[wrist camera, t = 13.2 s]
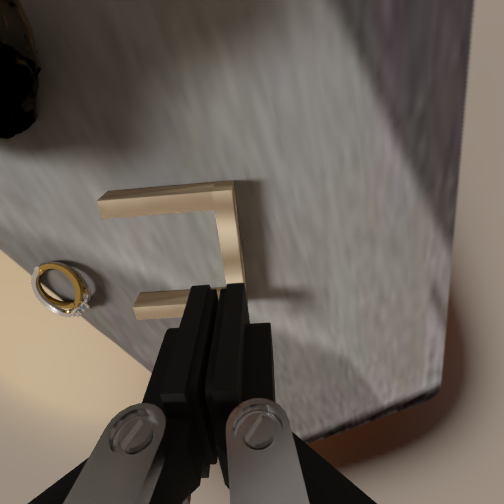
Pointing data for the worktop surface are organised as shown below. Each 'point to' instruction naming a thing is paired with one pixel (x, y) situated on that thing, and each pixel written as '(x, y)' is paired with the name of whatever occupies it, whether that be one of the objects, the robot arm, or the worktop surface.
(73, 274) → the ring
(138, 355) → the worktop surface
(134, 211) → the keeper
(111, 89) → the worktop surface
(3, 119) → the pottery vessel
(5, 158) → the worktop surface
